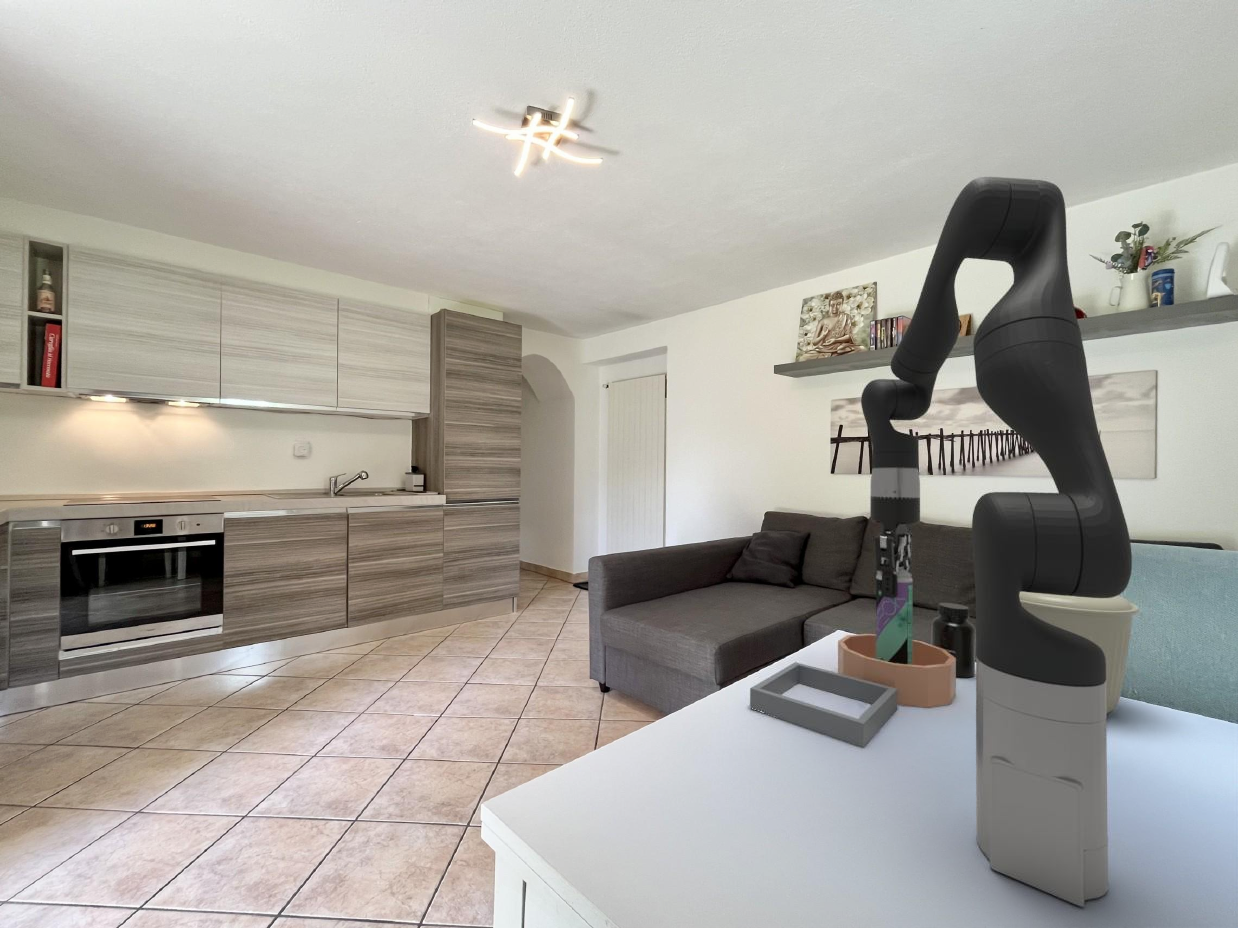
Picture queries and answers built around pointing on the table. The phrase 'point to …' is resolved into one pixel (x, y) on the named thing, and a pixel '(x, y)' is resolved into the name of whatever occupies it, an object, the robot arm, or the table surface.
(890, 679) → the bowl
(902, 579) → the spray can
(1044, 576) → the robot arm
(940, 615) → the supplement bottle
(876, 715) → the parts tray
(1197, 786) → the table surface
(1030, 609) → the canister
